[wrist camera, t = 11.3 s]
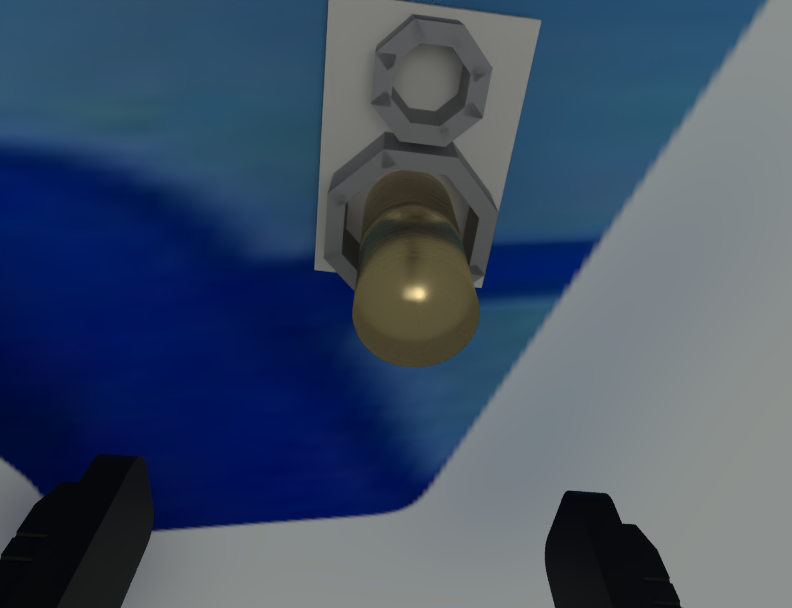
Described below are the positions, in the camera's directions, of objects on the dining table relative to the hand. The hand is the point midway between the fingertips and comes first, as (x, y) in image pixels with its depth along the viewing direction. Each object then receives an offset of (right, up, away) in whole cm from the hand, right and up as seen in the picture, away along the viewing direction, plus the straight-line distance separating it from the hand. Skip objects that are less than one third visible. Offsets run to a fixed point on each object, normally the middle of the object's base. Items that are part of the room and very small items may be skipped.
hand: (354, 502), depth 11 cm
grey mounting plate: (+2, +12, +17) cm, 21 cm away
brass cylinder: (+1, +8, +17) cm, 19 cm away
